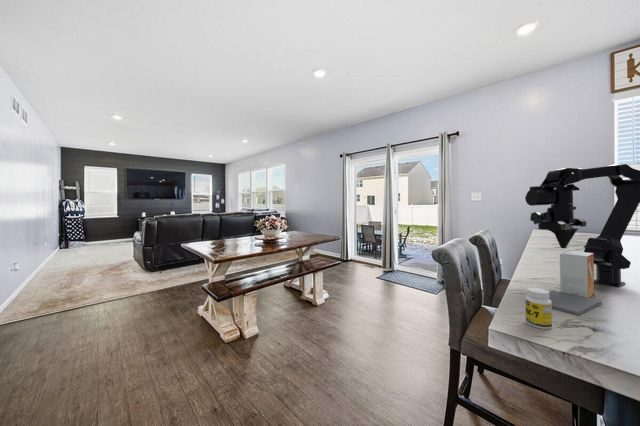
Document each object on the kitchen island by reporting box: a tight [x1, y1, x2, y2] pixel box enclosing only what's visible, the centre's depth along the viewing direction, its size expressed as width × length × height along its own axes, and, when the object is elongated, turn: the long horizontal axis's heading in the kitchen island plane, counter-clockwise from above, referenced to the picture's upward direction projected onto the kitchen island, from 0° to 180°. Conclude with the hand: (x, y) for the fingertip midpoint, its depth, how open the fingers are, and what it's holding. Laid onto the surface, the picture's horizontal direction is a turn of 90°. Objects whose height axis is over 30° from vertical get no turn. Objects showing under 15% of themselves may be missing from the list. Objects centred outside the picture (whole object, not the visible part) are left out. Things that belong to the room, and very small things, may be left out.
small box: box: [559, 250, 595, 298], centre depth 79 cm, size 8×6×13 cm
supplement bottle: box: [525, 287, 553, 330], centre depth 60 cm, size 5×5×8 cm
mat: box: [548, 289, 603, 316], centre depth 72 cm, size 15×11×1 cm
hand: (563, 248), depth 88 cm, fingers closed
